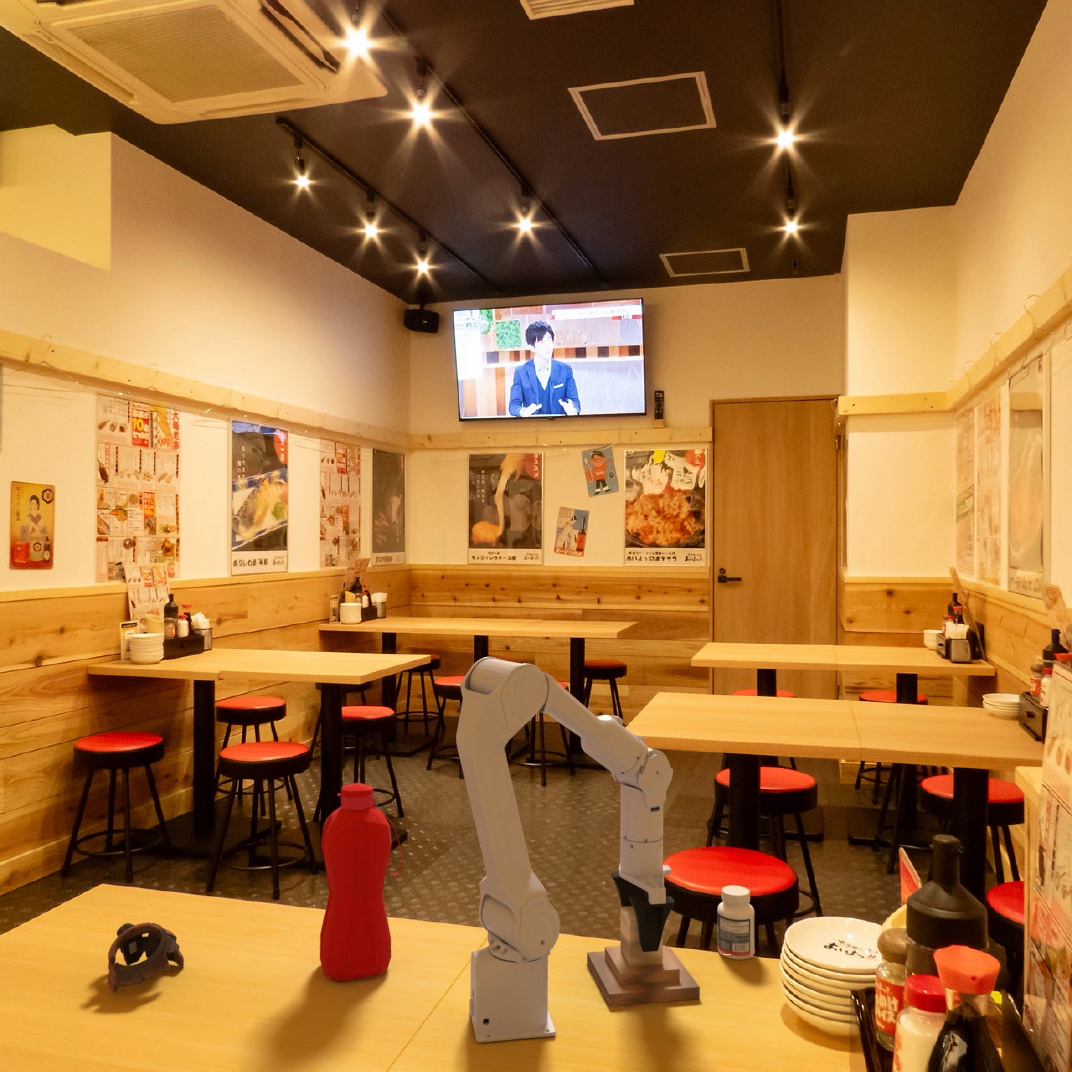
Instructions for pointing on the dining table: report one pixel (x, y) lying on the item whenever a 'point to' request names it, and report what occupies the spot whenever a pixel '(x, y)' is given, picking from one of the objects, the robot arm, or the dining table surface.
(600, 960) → the walnut pedestal
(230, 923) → the dining table surface
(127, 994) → the dining table surface
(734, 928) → the pill bottle
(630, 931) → the oak block
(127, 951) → the dark brown ring housing
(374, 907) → the water bottle
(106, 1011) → the dining table surface
